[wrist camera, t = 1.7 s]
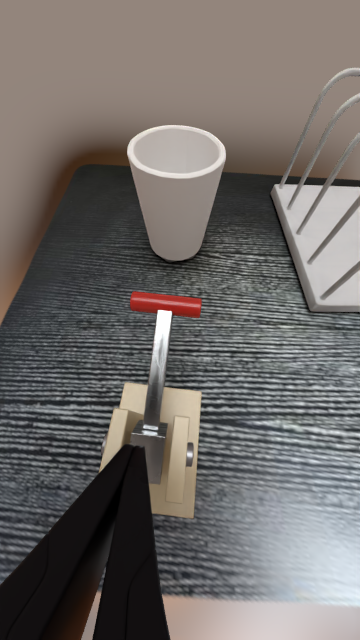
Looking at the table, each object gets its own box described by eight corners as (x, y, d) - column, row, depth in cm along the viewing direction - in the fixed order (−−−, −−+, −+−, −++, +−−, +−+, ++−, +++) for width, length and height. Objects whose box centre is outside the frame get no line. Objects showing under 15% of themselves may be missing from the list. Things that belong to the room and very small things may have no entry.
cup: (133, 261, 31) (109, 164, 19) (155, 218, 35) (147, 118, 23) (199, 278, 29) (215, 186, 18) (214, 231, 34) (234, 133, 22)
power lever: (137, 295, 17) (130, 287, 14) (199, 302, 17) (203, 295, 14) (114, 456, 15) (102, 477, 13) (182, 465, 15) (182, 488, 13)
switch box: (127, 384, 23) (102, 362, 15) (200, 393, 23) (214, 376, 15) (101, 501, 18) (47, 558, 10) (192, 513, 18) (207, 581, 10)
